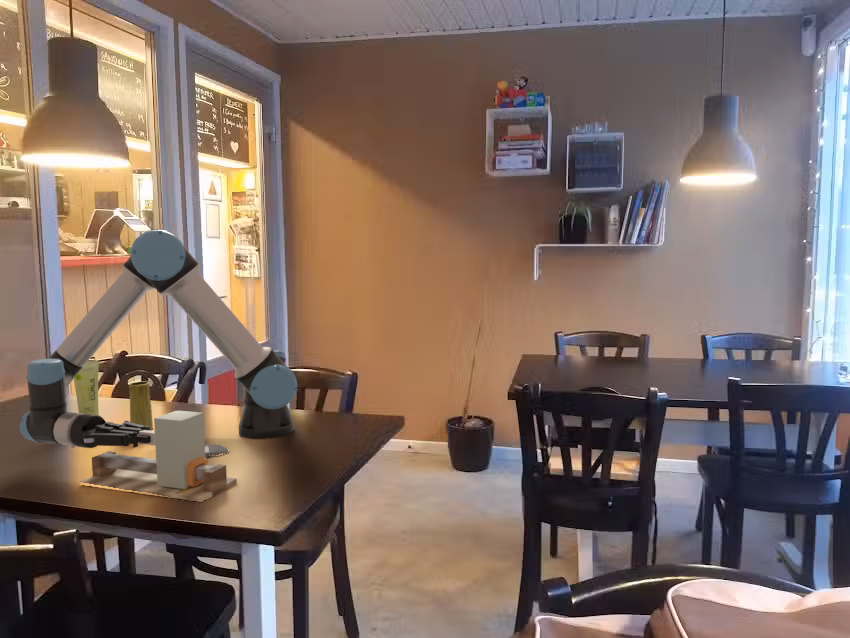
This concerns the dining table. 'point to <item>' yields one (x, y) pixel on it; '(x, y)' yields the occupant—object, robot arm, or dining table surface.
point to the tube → (87, 388)
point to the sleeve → (179, 448)
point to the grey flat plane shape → (214, 449)
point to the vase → (140, 404)
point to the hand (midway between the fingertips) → (165, 439)
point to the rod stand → (154, 477)
